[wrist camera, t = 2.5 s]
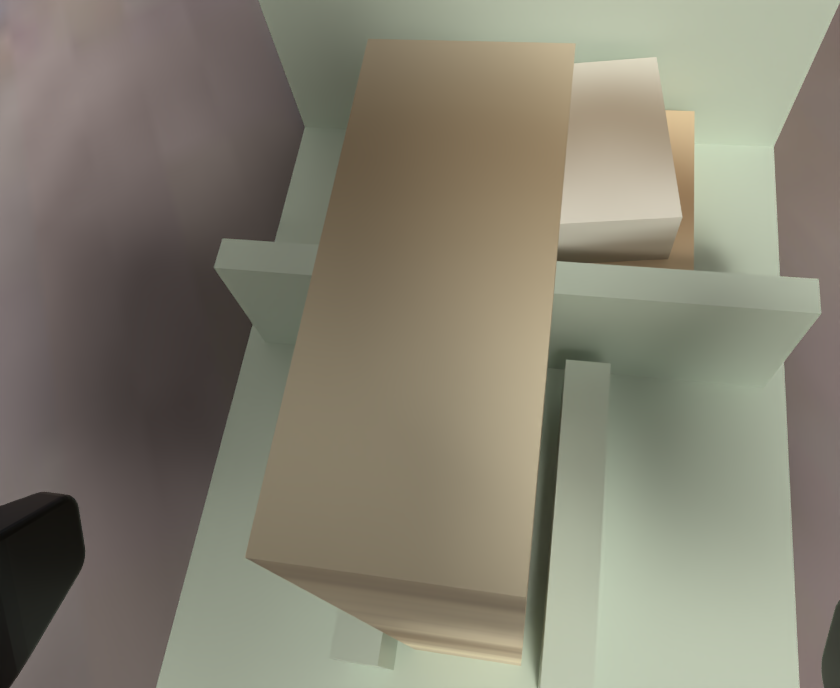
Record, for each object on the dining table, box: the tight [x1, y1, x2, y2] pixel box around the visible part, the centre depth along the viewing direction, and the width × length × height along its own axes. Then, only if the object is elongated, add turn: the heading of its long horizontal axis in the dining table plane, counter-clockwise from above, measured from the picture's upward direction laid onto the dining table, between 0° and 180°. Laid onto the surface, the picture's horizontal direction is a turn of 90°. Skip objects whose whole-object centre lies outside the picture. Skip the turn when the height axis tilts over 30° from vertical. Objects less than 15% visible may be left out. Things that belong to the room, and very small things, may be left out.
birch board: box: [245, 39, 576, 666], centre depth 13 cm, size 6×2×12 cm, turn 171°
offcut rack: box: [156, 0, 840, 688], centre depth 18 cm, size 18×14×7 cm
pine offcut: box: [592, 110, 695, 270], centre depth 21 cm, size 6×9×2 cm, turn 81°
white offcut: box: [557, 57, 682, 263], centre depth 19 cm, size 5×7×2 cm, turn 89°
